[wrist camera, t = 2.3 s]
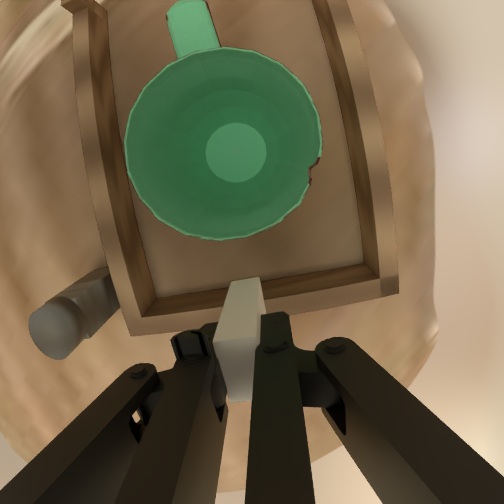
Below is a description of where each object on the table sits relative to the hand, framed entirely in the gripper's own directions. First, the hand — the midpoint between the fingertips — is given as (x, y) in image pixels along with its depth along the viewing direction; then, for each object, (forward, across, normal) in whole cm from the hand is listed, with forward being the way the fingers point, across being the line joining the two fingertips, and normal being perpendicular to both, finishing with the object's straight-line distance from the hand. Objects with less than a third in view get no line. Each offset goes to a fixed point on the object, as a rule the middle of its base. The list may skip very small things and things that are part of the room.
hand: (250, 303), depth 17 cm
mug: (+10, 0, +11) cm, 15 cm away
